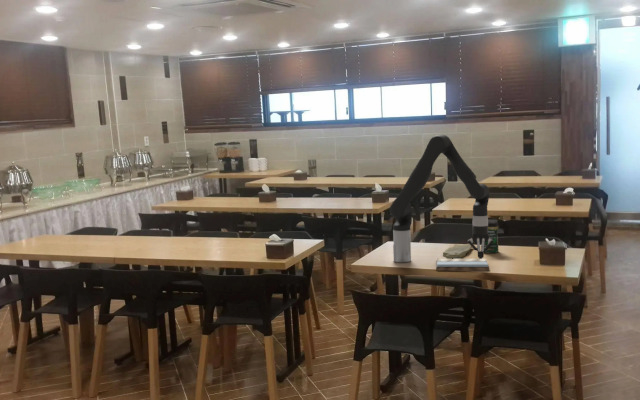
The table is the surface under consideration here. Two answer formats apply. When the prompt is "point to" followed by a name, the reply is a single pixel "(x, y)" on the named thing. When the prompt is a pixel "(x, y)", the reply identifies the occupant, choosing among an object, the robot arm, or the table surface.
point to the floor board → (462, 267)
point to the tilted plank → (461, 264)
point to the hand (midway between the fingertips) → (480, 258)
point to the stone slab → (457, 251)
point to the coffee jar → (492, 236)
